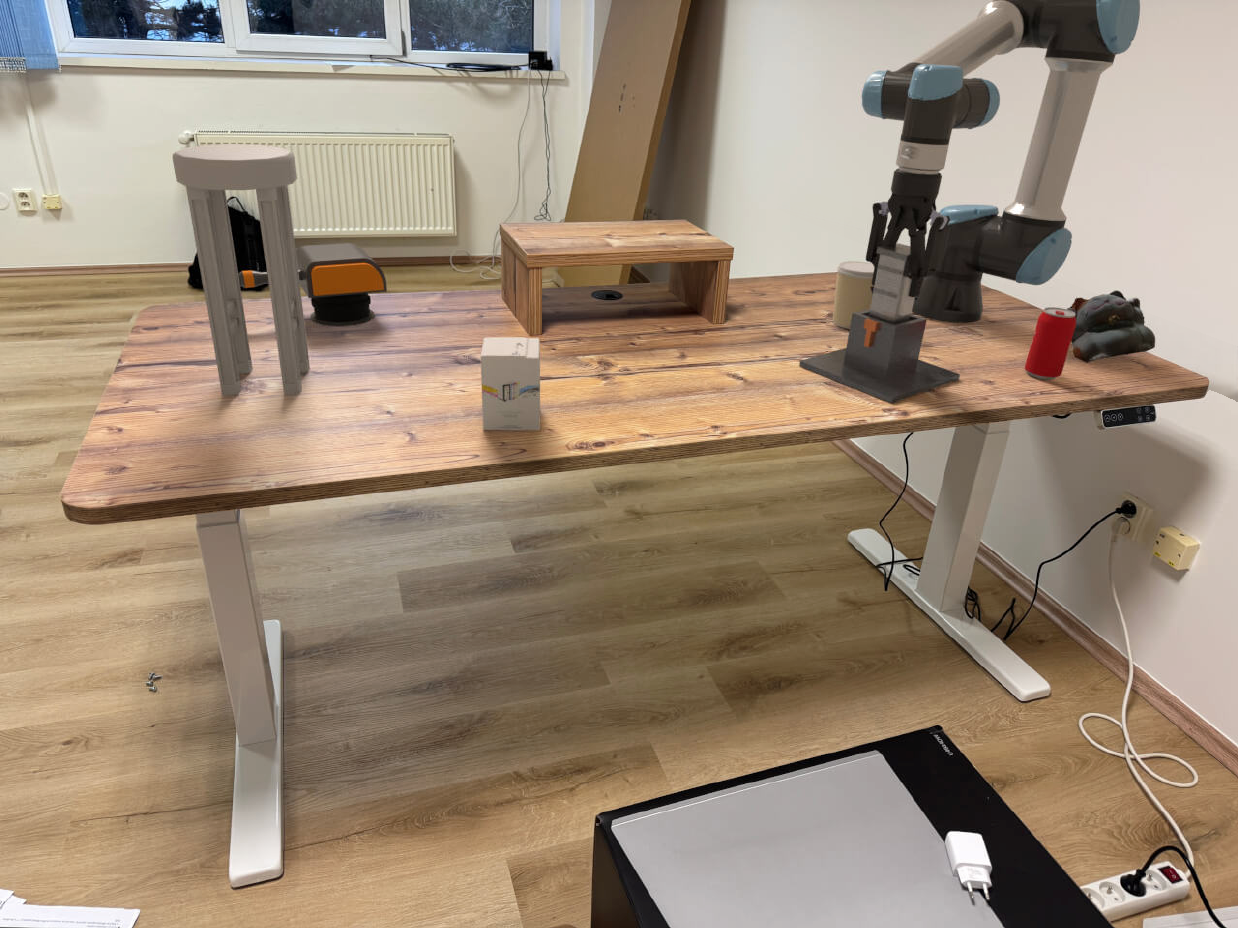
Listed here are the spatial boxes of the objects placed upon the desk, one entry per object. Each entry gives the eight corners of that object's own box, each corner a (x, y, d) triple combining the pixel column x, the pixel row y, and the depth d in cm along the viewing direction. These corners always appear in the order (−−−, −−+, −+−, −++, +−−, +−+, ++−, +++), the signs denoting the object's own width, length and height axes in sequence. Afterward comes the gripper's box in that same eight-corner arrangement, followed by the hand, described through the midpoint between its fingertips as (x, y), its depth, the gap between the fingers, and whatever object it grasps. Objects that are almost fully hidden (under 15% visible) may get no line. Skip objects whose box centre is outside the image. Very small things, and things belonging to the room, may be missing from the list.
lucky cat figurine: (1072, 363, 165) (1064, 291, 166) (1063, 368, 177) (1056, 300, 177) (1162, 352, 160) (1155, 278, 160) (1147, 358, 171) (1140, 288, 172)
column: (876, 358, 159) (898, 243, 150) (903, 368, 155) (928, 251, 146) (855, 364, 156) (877, 247, 146) (883, 374, 152) (907, 255, 142)
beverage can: (1058, 372, 161) (1077, 309, 156) (1061, 383, 156) (1081, 319, 150) (1022, 366, 163) (1039, 304, 157) (1024, 377, 158) (1042, 313, 152)
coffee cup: (875, 333, 176) (886, 274, 171) (828, 328, 178) (838, 270, 172) (872, 319, 185) (883, 263, 179) (828, 314, 186) (837, 259, 181)
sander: (241, 314, 167) (231, 248, 162) (372, 302, 178) (367, 240, 172) (251, 338, 156) (241, 268, 150) (390, 324, 167) (385, 258, 161)
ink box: (484, 407, 134) (483, 335, 129) (539, 408, 135) (540, 336, 130) (481, 431, 127) (479, 355, 121) (539, 431, 127) (540, 356, 122)
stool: (324, 363, 147) (299, 145, 131) (311, 399, 134) (282, 161, 118) (227, 364, 144) (189, 142, 128) (204, 401, 131) (159, 158, 115)
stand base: (867, 346, 169) (877, 293, 164) (958, 379, 155) (972, 323, 150) (799, 365, 157) (807, 309, 152) (891, 403, 144) (903, 343, 139)
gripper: (858, 162, 144) (835, 299, 155) (955, 180, 132) (923, 327, 142) (886, 160, 148) (862, 293, 159) (982, 177, 136) (948, 320, 147)
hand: (890, 309), depth 151 cm, fingers closed on column, 5 cm apart
